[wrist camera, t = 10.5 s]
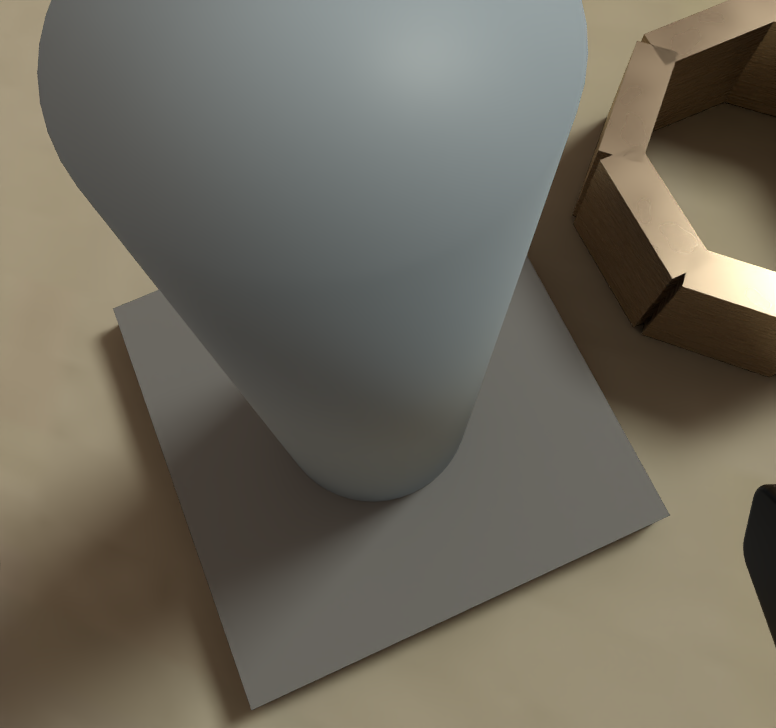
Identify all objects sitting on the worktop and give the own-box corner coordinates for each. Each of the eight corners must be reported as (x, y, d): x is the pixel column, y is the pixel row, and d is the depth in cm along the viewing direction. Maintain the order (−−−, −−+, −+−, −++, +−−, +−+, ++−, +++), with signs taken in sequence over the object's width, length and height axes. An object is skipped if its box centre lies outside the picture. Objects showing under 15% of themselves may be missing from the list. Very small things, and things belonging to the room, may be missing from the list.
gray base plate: (658, 519, 17) (670, 515, 16) (259, 704, 16) (251, 710, 15) (472, 177, 20) (474, 160, 19) (125, 319, 19) (113, 308, 18)
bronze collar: (980, 285, 18) (1083, 229, 16) (687, 419, 18) (738, 385, 15) (793, 38, 21) (853, -50, 18) (528, 147, 20) (546, 73, 17)
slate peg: (499, 453, 17) (694, 149, 5) (322, 533, 16) (133, 381, 5) (419, 293, 18) (443, -226, 7) (253, 363, 18) (-23, -68, 6)
